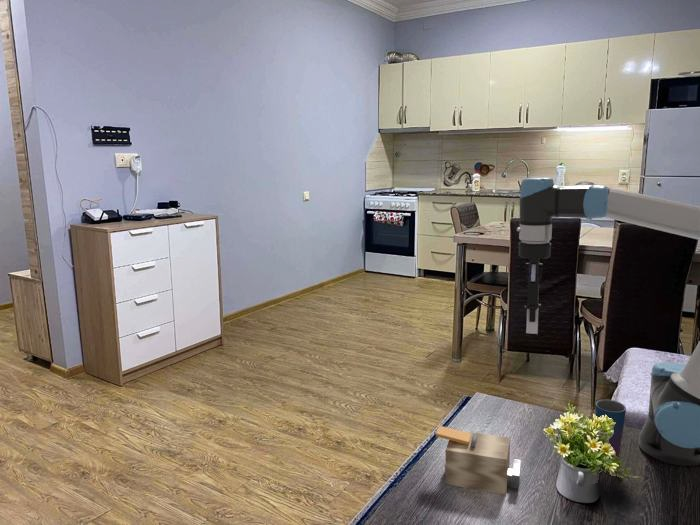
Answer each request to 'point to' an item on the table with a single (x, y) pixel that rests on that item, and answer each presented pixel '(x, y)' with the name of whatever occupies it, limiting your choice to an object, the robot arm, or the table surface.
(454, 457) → the block
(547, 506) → the table surface
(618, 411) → the cup
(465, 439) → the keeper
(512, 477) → the white l-shaped bar
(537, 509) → the table surface
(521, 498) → the table surface
